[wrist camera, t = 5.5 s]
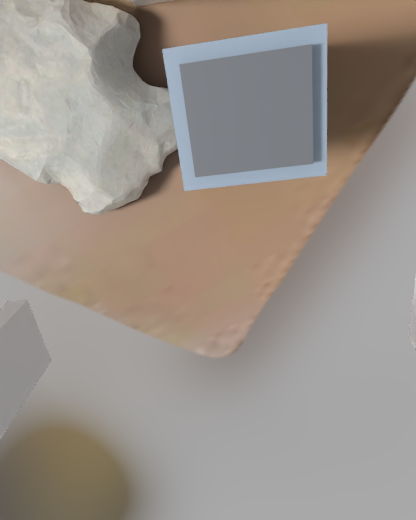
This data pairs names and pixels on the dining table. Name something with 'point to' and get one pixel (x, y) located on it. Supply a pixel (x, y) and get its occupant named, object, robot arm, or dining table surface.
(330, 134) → the dining table surface
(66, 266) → the dining table surface
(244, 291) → the dining table surface
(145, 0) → the cartridge
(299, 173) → the box
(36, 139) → the rock
